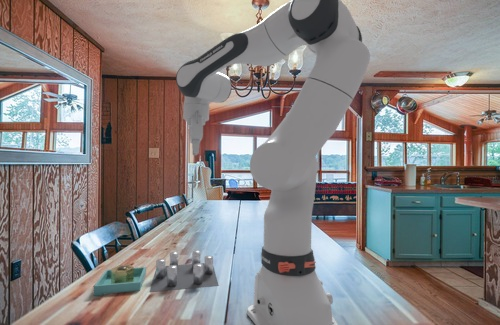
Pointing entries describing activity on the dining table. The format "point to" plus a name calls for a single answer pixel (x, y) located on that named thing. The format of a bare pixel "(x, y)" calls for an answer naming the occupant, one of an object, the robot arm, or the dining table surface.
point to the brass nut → (122, 274)
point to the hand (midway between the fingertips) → (195, 154)
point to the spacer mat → (183, 279)
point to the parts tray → (106, 287)
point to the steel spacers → (174, 266)
